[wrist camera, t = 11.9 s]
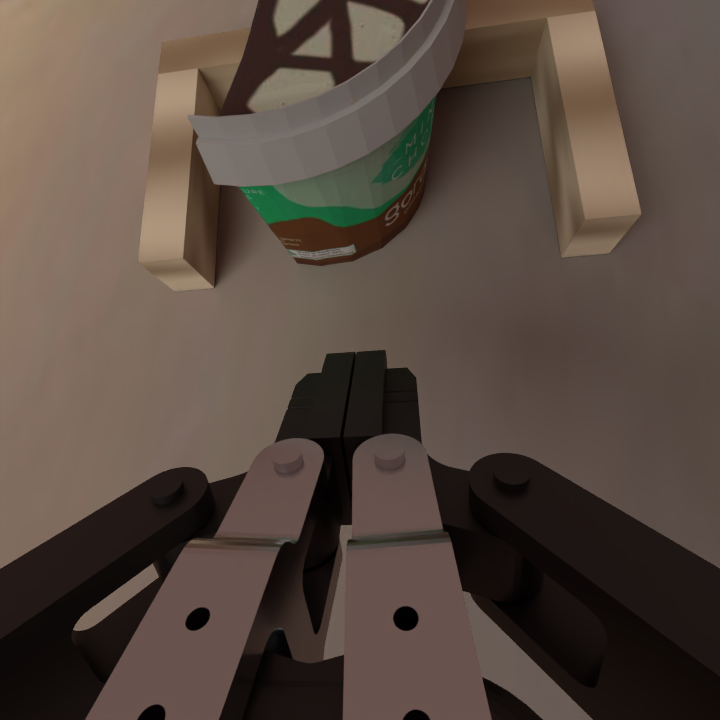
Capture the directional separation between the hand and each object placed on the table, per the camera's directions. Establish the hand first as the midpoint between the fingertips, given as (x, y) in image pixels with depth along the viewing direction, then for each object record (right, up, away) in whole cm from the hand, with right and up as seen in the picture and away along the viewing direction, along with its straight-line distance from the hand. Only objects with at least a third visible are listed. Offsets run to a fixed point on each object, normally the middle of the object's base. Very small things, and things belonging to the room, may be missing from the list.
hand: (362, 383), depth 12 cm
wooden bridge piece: (+1, +9, +10) cm, 14 cm away
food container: (+1, +9, +10) cm, 14 cm away
